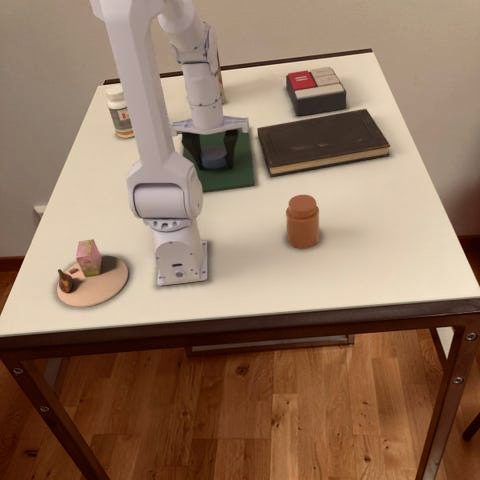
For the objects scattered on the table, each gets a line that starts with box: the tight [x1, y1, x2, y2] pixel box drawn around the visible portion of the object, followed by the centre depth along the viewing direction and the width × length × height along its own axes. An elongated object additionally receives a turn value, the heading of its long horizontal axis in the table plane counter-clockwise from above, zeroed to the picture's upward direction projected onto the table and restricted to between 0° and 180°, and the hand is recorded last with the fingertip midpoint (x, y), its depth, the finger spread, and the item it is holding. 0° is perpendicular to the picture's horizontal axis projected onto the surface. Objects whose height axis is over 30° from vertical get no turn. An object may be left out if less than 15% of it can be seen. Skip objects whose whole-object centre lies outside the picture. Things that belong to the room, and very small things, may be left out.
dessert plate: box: [56, 239, 130, 308], centre depth 82 cm, size 12×12×4 cm
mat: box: [182, 131, 255, 193], centre depth 103 cm, size 22×14×1 cm, turn 3°
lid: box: [200, 145, 228, 169], centre depth 99 cm, size 6×6×2 cm
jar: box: [285, 194, 320, 249], centre depth 81 cm, size 5×5×7 cm
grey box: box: [285, 66, 347, 117], centre depth 115 cm, size 11×4×15 cm
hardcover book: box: [256, 108, 391, 178], centre depth 101 cm, size 16×23×2 cm
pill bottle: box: [105, 84, 135, 139], centre depth 112 cm, size 6×6×10 cm
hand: (216, 166), depth 100 cm, fingers closed on lid, 5 cm apart
